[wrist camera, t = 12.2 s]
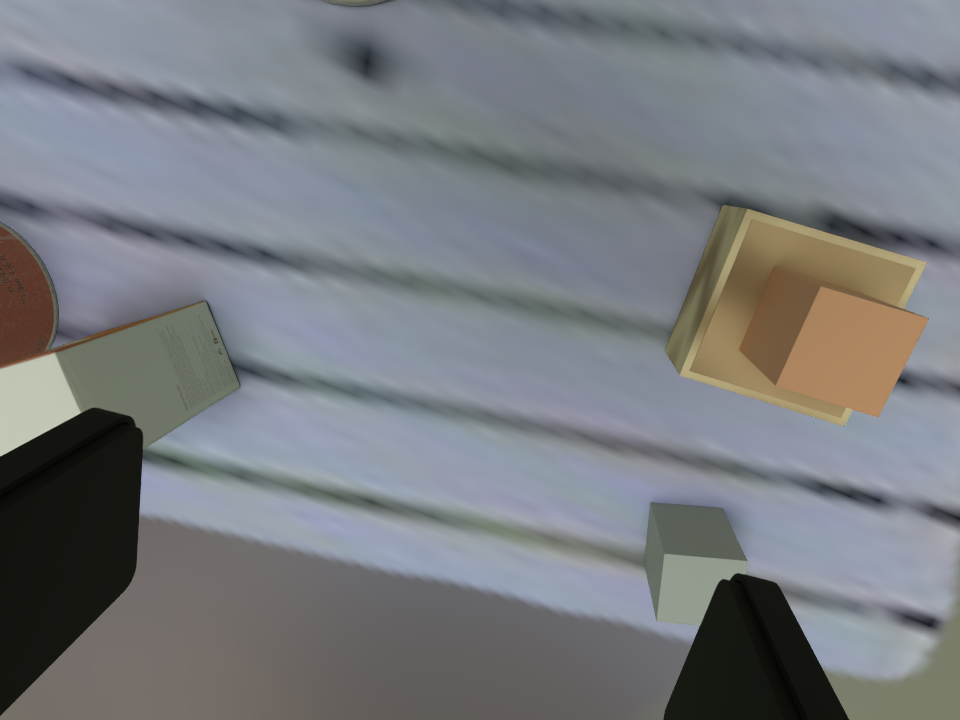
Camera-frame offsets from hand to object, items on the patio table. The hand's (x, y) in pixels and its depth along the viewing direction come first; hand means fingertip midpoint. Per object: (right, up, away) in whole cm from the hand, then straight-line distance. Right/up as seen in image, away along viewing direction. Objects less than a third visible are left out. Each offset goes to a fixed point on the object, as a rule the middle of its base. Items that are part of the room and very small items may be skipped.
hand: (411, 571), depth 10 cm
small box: (-20, +3, +33) cm, 39 cm away
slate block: (+14, -8, +32) cm, 36 cm away
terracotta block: (+17, +5, +22) cm, 29 cm away
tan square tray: (+18, +7, +27) cm, 33 cm away
